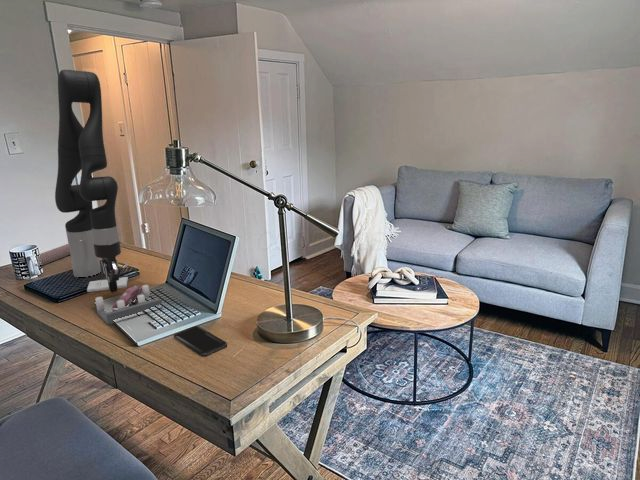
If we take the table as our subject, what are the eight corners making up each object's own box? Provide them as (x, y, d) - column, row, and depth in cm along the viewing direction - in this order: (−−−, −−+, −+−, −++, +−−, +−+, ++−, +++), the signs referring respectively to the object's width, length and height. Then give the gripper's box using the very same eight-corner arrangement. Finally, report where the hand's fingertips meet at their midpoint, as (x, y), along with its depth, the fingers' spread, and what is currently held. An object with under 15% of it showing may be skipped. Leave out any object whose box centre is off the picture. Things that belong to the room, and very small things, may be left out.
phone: (202, 355, 113) (171, 334, 123) (203, 359, 114) (172, 338, 124) (228, 343, 119) (197, 324, 129) (229, 347, 119) (197, 328, 129)
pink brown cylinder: (40, 257, 177) (76, 243, 193) (30, 255, 178) (66, 242, 194) (41, 268, 178) (76, 254, 195) (31, 266, 179) (67, 252, 196)
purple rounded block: (123, 316, 140) (130, 298, 137) (110, 309, 140) (116, 291, 137) (140, 303, 149) (146, 285, 147) (127, 296, 149) (134, 279, 147)
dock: (96, 313, 138) (94, 297, 137) (148, 298, 148) (147, 284, 147) (108, 324, 131) (105, 308, 129) (162, 308, 141) (160, 293, 139)
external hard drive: (127, 288, 158) (87, 293, 154) (128, 280, 165) (90, 284, 162) (126, 284, 158) (86, 289, 154) (127, 276, 165) (89, 280, 161)
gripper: (87, 238, 146) (95, 288, 151) (100, 247, 136) (108, 301, 141) (111, 233, 151) (118, 282, 156) (125, 242, 141) (132, 294, 146)
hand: (113, 291), depth 148 cm, fingers closed
